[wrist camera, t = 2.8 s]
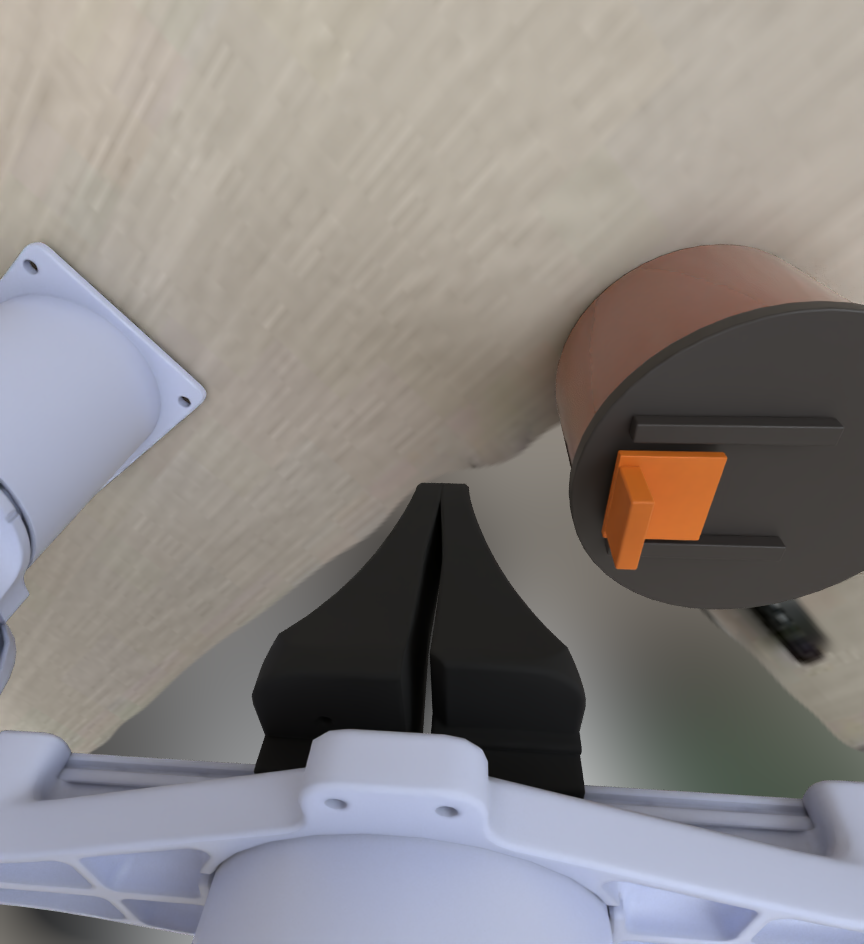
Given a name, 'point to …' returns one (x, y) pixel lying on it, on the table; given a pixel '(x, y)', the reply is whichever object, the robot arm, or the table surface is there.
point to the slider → (658, 499)
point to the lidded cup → (724, 422)
